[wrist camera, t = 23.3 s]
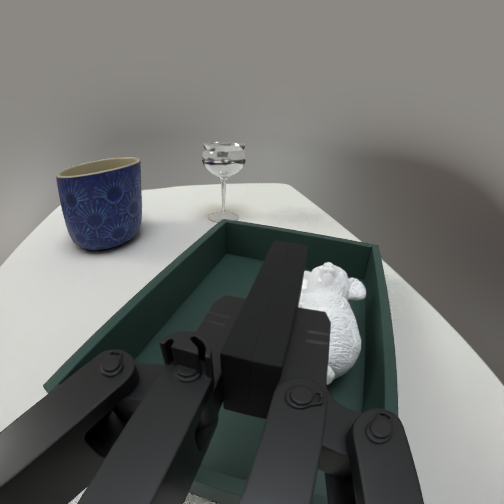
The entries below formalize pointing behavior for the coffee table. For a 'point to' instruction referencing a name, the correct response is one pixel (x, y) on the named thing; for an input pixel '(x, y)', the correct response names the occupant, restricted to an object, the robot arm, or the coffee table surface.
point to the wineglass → (223, 168)
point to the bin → (239, 285)
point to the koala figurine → (335, 313)
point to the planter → (101, 201)
